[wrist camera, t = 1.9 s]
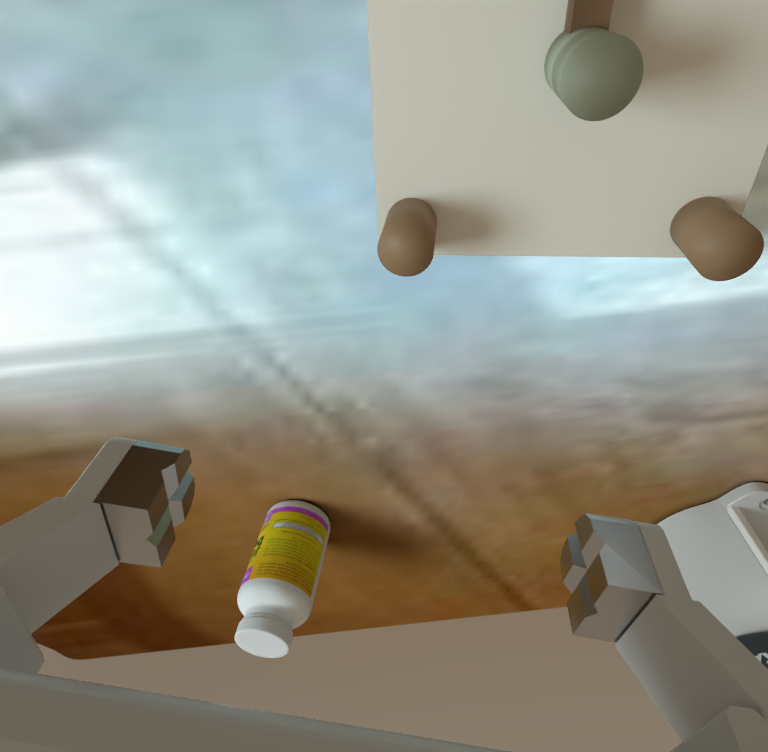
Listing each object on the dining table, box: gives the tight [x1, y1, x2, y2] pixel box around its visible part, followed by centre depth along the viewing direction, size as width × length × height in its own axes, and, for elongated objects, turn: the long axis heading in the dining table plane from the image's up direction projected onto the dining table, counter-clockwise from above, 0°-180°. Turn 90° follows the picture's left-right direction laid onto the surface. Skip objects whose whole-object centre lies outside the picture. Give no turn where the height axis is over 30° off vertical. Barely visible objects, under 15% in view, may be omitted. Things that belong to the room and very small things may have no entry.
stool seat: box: [367, 0, 768, 281], centre depth 24 cm, size 20×20×6 cm
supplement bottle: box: [235, 500, 331, 658], centre depth 48 cm, size 7×7×13 cm
